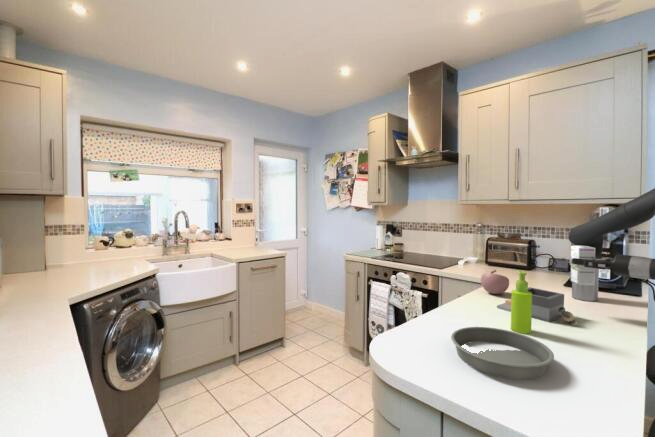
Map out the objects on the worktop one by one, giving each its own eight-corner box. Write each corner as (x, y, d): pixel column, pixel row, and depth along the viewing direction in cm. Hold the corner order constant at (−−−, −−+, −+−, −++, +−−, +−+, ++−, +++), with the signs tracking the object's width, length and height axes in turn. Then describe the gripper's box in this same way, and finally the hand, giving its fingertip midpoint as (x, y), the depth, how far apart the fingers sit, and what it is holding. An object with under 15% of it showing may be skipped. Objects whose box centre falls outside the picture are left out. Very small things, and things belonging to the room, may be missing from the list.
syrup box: (595, 285, 117) (596, 247, 117) (577, 285, 119) (578, 247, 118) (586, 282, 123) (587, 245, 122) (569, 281, 124) (570, 245, 124)
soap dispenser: (527, 327, 108) (528, 270, 108) (533, 334, 102) (535, 274, 101) (508, 325, 110) (509, 268, 110) (512, 332, 104) (514, 272, 103)
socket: (512, 303, 135) (512, 283, 135) (563, 316, 119) (564, 294, 119) (496, 307, 129) (497, 287, 129) (548, 322, 113) (549, 299, 113)
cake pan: (577, 375, 78) (578, 357, 78) (499, 391, 71) (499, 372, 71) (498, 336, 102) (498, 322, 101) (433, 345, 95) (433, 330, 94)
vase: (560, 325, 110) (560, 308, 110) (555, 321, 115) (554, 305, 115) (579, 327, 108) (579, 310, 108) (572, 323, 113) (572, 306, 113)
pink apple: (509, 292, 152) (510, 269, 151) (508, 298, 142) (508, 273, 141) (482, 289, 158) (482, 266, 158) (479, 294, 148) (479, 270, 148)
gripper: (640, 254, 112) (584, 248, 126) (627, 257, 104) (569, 251, 118) (639, 274, 112) (584, 267, 126) (626, 280, 105) (568, 271, 118)
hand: (577, 259), depth 122 cm, fingers closed on syrup box, 8 cm apart
